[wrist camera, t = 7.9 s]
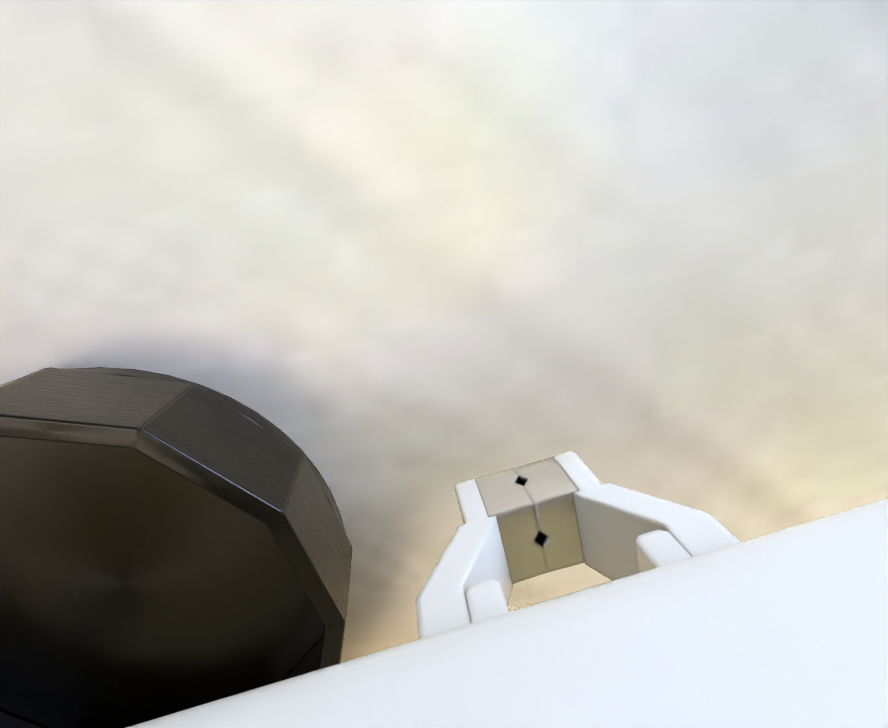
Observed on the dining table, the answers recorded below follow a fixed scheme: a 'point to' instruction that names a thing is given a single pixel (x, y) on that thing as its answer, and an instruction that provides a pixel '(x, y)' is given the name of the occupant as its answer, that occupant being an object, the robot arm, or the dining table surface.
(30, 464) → the pan
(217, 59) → the dining table surface
